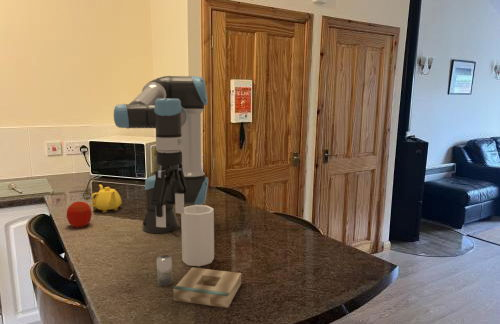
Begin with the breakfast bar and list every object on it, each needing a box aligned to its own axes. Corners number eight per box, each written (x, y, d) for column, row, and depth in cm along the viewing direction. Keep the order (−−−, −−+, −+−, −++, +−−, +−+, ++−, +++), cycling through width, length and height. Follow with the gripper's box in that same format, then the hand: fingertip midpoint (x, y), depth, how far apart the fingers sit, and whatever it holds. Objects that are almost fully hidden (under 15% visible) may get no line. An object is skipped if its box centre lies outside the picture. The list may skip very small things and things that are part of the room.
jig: (173, 300, 108) (173, 287, 107) (192, 277, 121) (192, 266, 121) (227, 307, 104) (227, 295, 104) (241, 283, 118) (241, 272, 117)
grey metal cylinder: (154, 285, 117) (153, 260, 115) (161, 278, 121) (160, 254, 120) (168, 286, 115) (167, 262, 114) (175, 279, 120) (174, 255, 118)
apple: (96, 225, 168) (94, 200, 166) (73, 231, 161) (71, 205, 159) (86, 220, 175) (84, 196, 173) (63, 225, 168) (61, 200, 166)
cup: (200, 269, 127) (199, 216, 124) (175, 261, 133) (174, 210, 130) (220, 257, 136) (220, 207, 133) (196, 251, 142) (195, 203, 139)
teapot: (84, 207, 195) (83, 186, 193) (113, 202, 204) (112, 181, 202) (98, 217, 180) (96, 193, 178) (128, 211, 189) (127, 189, 187)
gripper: (162, 157, 101) (164, 234, 104) (196, 146, 125) (197, 209, 128) (136, 156, 102) (139, 232, 106) (174, 145, 126) (176, 207, 130)
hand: (171, 219), depth 117 cm, fingers open, 13 cm apart
